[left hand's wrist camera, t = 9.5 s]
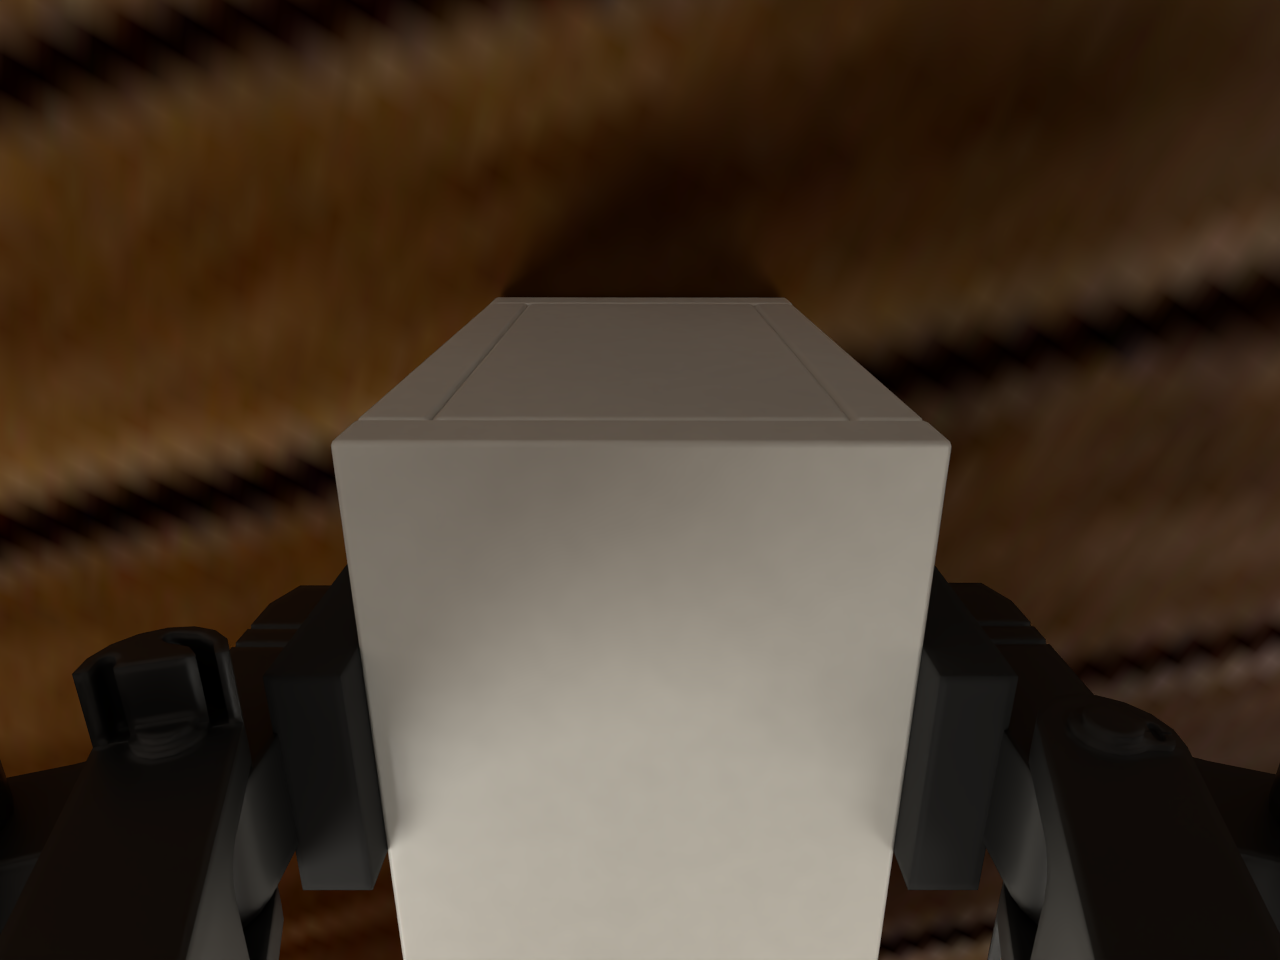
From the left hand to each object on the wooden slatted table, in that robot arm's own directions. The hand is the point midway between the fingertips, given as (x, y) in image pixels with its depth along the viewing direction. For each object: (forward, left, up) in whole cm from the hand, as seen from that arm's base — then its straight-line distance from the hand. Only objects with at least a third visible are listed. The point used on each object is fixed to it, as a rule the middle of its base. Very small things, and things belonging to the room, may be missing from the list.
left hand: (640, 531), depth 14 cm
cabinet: (+2, +7, -3) cm, 8 cm away
